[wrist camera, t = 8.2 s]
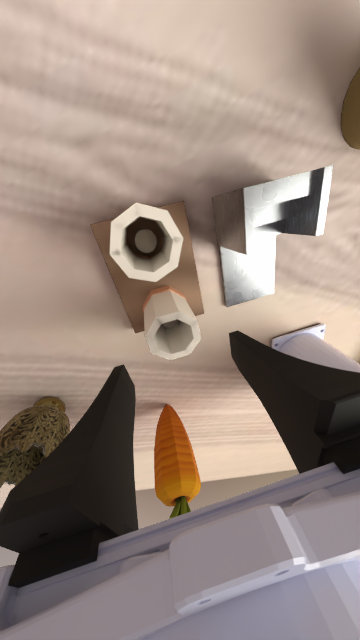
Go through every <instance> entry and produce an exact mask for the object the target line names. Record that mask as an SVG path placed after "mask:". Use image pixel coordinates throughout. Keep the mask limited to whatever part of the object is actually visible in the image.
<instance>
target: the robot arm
mask: <svg viewBox="0 0 360 640" xmlns="http://www.w3.org/2000/svg"><path fill="white" fill-rule="evenodd" d="M325 328H326V325H325V324H319V325H315V326H312V327H309V328H306V329H302V330H299V331H296V332H292V333H289V334H286V335H283V336H279V337H276V338H274V339H273V340H272V348H270V347H268V346H266V345H264V344H262V343H260V342H258V341H256V340H254V339H252V338H251V337H249V336H247V335H245V334H243V333H241V332H239V331H235V332H231V333H229V337H230V346H231V355H232V358H233V360H234V362H235V364H236V366H237V367H238V369H239V371H240V372H241V373H242V375H243V376H244V378H245V379H246V381H247V382H248V383H249V385H250V386H251V388H252V389H253V390H254V392H255V393H256V395H257V396H258V398H259V399H260V401H261V402H262V404H263V406H264V407H265V409H266V411H267V413H268V414H269V416H270V418H271V420H272V421H273V423H274V425H275V427H276V429H277V431H278V432H279V434H280V436H281V438H282V440H283V442H284V444H285V446H286V448H287V449H288V451H289V453H290V455H291V457H292V459H293V461H294V463H295V465H296V467H297V469H298V471H299V473H300V474H298V475H295V476H292V477H289V478H286V479H284V480H281V481H278V482H275V483H272V484H269V485H266V486H264V487H260V488H257V489H255V490H252V491H249V492H246V493H243V494H240V495H237V496H234V497H232V498H229V499H226V500H223V501H220V502H217V503H214V504H211V505H208V506H205V507H203V508H200V509H197V510H194V511H191V512H188V513H185V514H182V515H179V516H176V517H174V518H171V519H168V520H165V521H162V522H160V523H156V524H153V525H151V526H148V527H145V528H142V529H139V530H138V519H137V510H136V509H137V508H136V496H135V481H134V460H133V432H134V417H135V386H134V384H133V382H132V380H131V378H130V376H129V374H128V372H127V370H126V368H125V366H124V365H121V366H117V367H115V368H114V369H113V371H112V373H111V374H110V376H109V378H108V379H107V381H106V383H105V384H104V386H103V388H102V389H101V391H100V392H99V394H98V396H97V397H96V399H95V400H94V402H93V403H92V405H91V406H90V408H89V409H88V410H87V412H86V413H85V414H84V416H83V417H82V418H81V420H80V421H79V422H78V423H77V425H76V426H75V427H74V428H73V429H72V431H71V432H70V433H69V434H68V435H67V436H66V437H65V438H64V440H63V441H62V442H61V443H60V444H59V445H58V446H57V447H56V448H55V449H54V450H53V451H52V452H51V453H50V454H49V455H48V456H47V457H46V458H45V459H44V460H43V461H42V462H41V463H40V464H39V465H38V466H37V467H36V468H35V469H34V470H33V471H32V472H31V473H30V474H29V475H27V476H26V477H25V478H24V479H23V480H22V481H21V482H20V483H19V484H17V485H16V486H15V487H14V488H13V489H12V490H11V491H10V493H9V495H8V497H7V499H6V501H5V503H4V505H3V507H2V509H1V511H0V546H1V547H4V548H7V549H9V550H12V551H15V552H18V553H19V556H18V558H17V561H16V564H15V565H8V566H4V567H0V640H360V364H359V363H357V362H356V361H354V360H353V359H351V358H350V357H348V356H347V355H345V354H344V353H342V352H341V351H339V350H338V349H336V348H334V347H333V346H331V345H330V344H328V343H327V342H325V341H324V340H323V338H324V333H325Z"/></svg>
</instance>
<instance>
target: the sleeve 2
mask: <svg viewBox="0 0 360 640" xmlns="http://www.w3.org/2000/svg"><path fill="white" fill-rule="evenodd" d="M143 312H144V329H145V338H146V341H147V343H148V346H149V348H150V351H151V354H154V355H157V356H159V357H162V358H165V359H167V360H173V359H176V358H180V357H183V356H186V355H190V354H191V352H192V351H193V349H194V348H195V347H196V345H197V344H198V343H199V341H200V340H201V334H200V330H199V325H198V320H197V319H196V317H195V315H194V313H193V312H192V310H191V308H190V306H189V305H188V303H187V301H186V297H185V295H184V294H183V293H182V292H180V291H178V290H176V289H174V288H172V287H171V286H164V287H161V288H157V289H154V290H151V291H150V293H149V295H148V297H147V298H146V300H145V302H144V304H143ZM176 319H178V322H177V324H176V325H175V326H174V327H172V328H165V327H163V326H162V324H163V323H166V322H169V321H173V320H176Z"/></svg>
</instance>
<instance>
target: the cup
mask: <svg viewBox="0 0 360 640" xmlns="http://www.w3.org/2000/svg"><path fill="white" fill-rule="evenodd" d="M69 432H70V423H69V419H68V417H67V415H66V414H65V404H64V402H63V401H62V400H60V399H58V398H54V397H46V398H43V399H41V400H39V401H38V402H36V403H35V404H34V406H33V407H30V408H27V409H25V410H23V411H21V412H20V413H18V414H17V415H15V416H14V417H13V418H12V419H11V420H10V421H9V422H8V423H7V424H6V425H5V426H4V427H3V429H2V430H1V431H0V488H1V486H2V485H3V483H4V482H8V483H7V484H9V485H10V484H13V483H15V484H14V485H15V486H16V485H17V484H19V483H20V482H21V481H22V480H23V479H24V478H25V477H26V476H27V475H29V474H30V473H31V472H32V471H33V470H34V469H35V468H36V467H37V466H38V465H39V464H40V463H41V462H42V461H43V460H44V459H45V458H46V457H47V456H48V455H49V454H50V453H51V452H52V451H53V450H54V449H55V448H56V447H57V446H58V445H59V444H60V443H61V442H62V441H63V440H64V438H65V437H66V436H67V435H68V434H69Z"/></svg>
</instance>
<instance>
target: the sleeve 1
mask: <svg viewBox="0 0 360 640" xmlns="http://www.w3.org/2000/svg"><path fill="white" fill-rule="evenodd" d="M139 218H144V219H148V220H152V221H155V222H156V224H157V226H158V227H159V229H160V230H161V232H162V233H163V238H162V244H161V249H160V250H159V251H157V252H156V253H154V254H153V255H152V256H150V257H148V256H142V255H137V254H135V252H134V251H133V250H132V248H131V247H130V246H129V244H128V243H127V235H128V226H130V225H131V224H132V223H133V222H135V221H136V220H137V219H139ZM182 243H183V237H182V235H181V233H180V231H179V230H178V228H177V226H176V225H175V223H174V221H173V219H172V218H171V216H170V214H169V212H168V211H167V210H163V209H160V208H156V207H152V206H148V205H144V204H140V203H135V204H133V205H132V206H131V207H130V208H128V209H127V210H126V211H125V212H123V213H122V214H121V215H119V216H118V217H117V218H116V219H114V220H113V221H112V222H111V234H110V255H111V257H112V258H113V259H114V260H115V262H116V263H117V264H118V265H119V266H120V268H121V269H122V270H123V271H124V272H125V274H126V275H127V276H128V277H129V278H133V279H139V280H146V281H152V282H157V281H158V280H160V279H161V278H163V277H164V276H165V275H167V274H168V273H170V272H171V271H172V270H174V269H175V268H177V267H178V263H179V258H180V253H181V248H182Z"/></svg>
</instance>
